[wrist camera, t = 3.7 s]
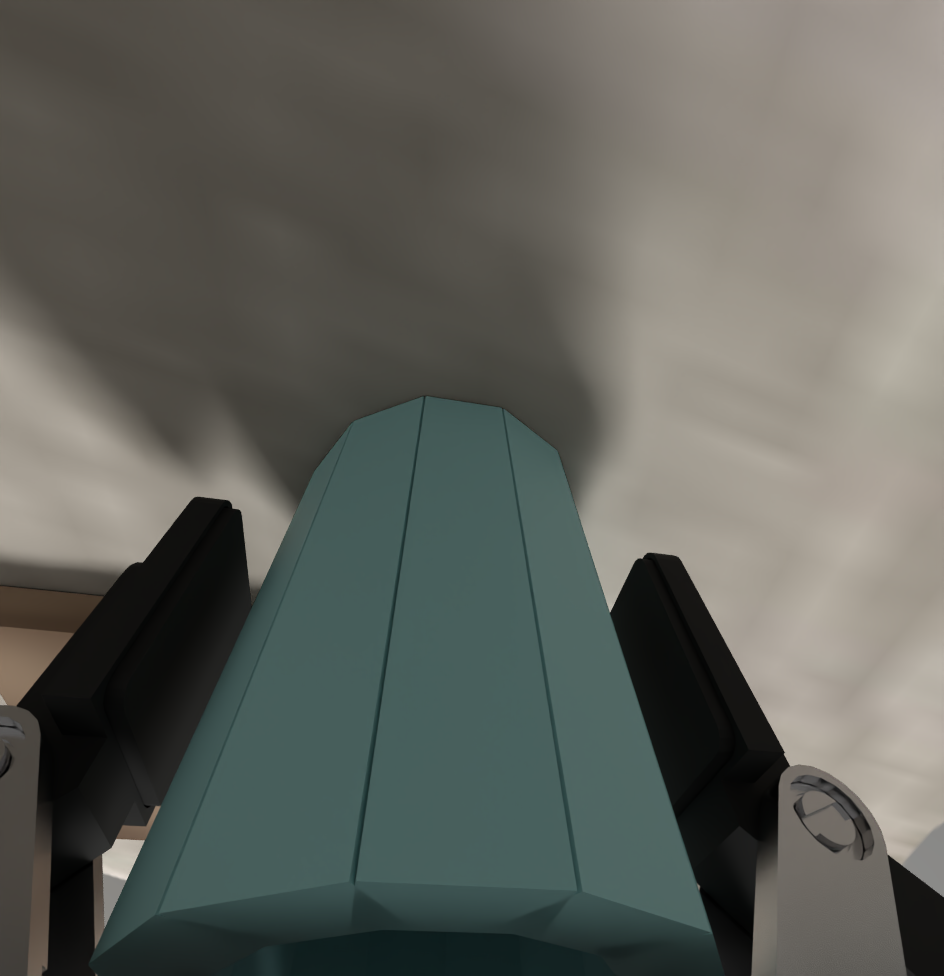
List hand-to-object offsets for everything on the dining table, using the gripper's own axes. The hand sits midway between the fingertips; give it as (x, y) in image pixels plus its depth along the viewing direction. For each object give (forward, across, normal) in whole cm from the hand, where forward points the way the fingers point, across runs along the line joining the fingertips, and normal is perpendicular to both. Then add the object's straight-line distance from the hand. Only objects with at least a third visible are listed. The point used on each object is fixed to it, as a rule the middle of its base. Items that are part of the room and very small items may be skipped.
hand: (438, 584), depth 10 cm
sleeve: (+2, 0, 0) cm, 2 cm away
